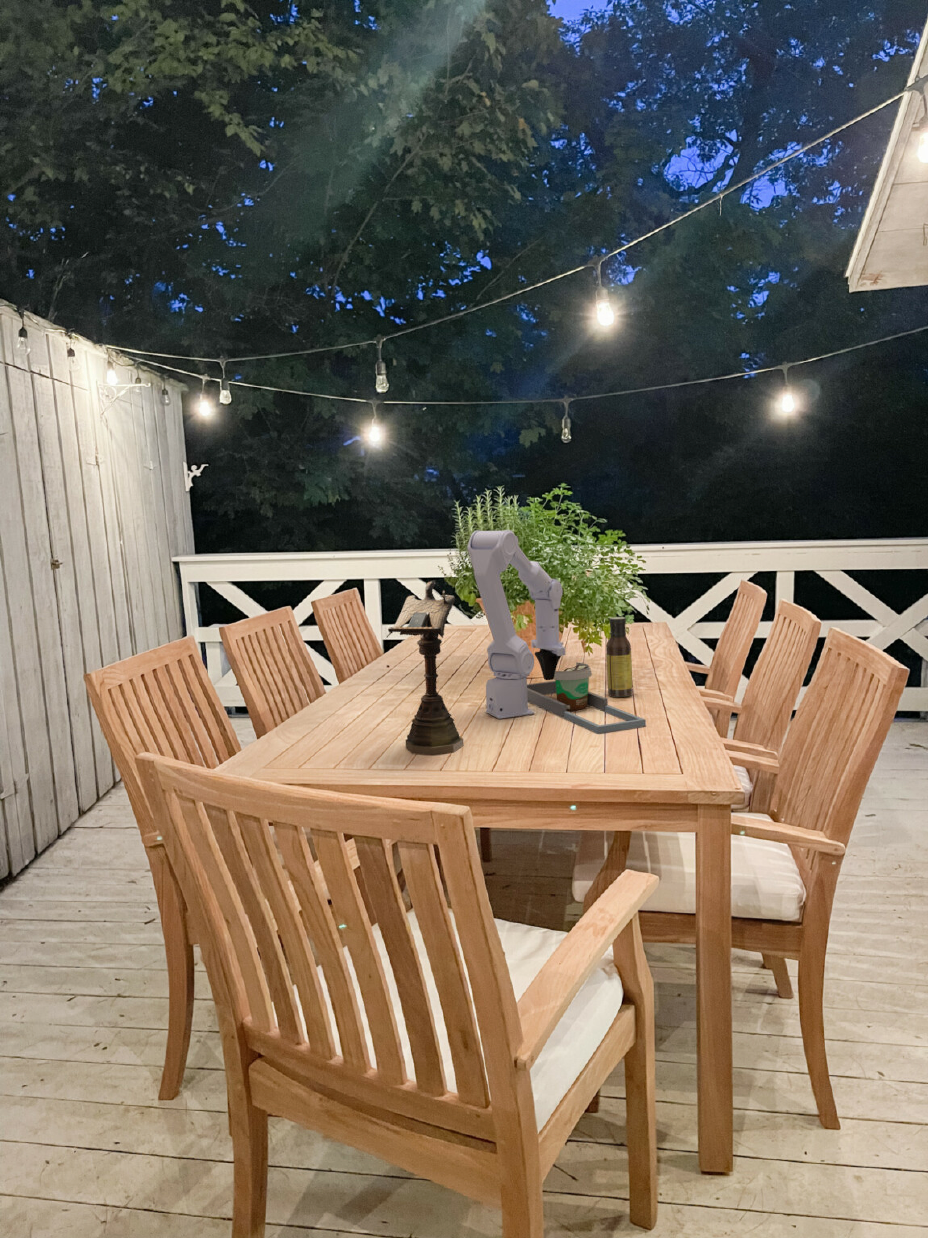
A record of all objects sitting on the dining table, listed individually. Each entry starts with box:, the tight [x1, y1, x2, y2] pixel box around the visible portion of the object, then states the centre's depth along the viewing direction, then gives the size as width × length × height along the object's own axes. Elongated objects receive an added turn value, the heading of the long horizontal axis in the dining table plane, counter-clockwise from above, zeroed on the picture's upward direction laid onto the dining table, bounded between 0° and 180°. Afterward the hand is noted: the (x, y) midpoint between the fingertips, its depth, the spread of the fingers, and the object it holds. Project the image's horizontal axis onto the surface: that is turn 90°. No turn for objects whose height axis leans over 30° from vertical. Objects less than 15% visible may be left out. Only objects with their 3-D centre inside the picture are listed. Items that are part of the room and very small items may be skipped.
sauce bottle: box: [605, 616, 634, 698], centre depth 209 cm, size 6×6×20 cm
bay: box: [563, 704, 647, 735], centre depth 186 cm, size 12×15×2 cm
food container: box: [553, 661, 593, 713], centre depth 199 cm, size 12×6×10 cm, turn 146°
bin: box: [527, 680, 609, 719], centre depth 204 cm, size 12×24×3 cm, turn 22°
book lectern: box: [386, 579, 465, 756], centre depth 168 cm, size 17×13×35 cm
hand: (548, 679), depth 209 cm, fingers closed
